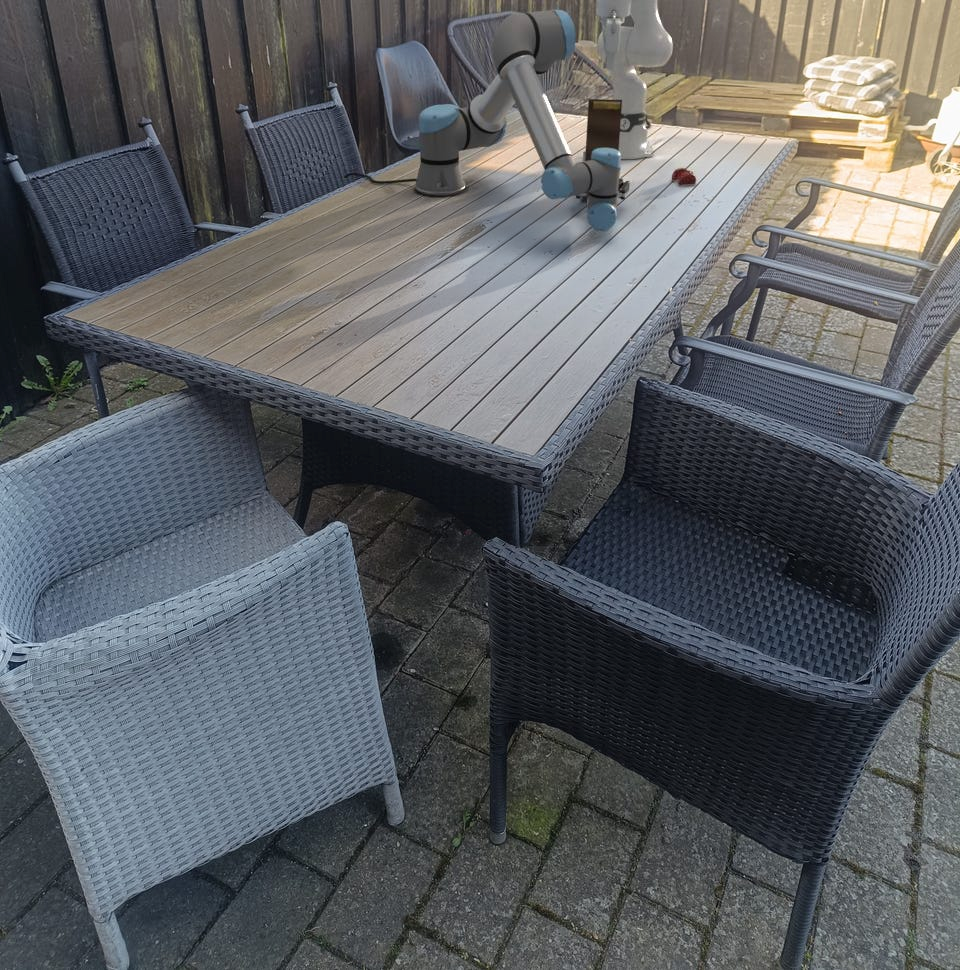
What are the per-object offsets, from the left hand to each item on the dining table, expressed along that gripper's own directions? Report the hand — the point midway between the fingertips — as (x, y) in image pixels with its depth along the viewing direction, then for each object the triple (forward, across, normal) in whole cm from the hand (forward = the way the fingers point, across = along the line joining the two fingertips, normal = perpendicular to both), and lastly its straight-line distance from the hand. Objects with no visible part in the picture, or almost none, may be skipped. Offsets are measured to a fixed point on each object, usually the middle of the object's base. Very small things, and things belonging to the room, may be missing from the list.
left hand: (599, 177), depth 247 cm
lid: (0, 0, +12) cm, 12 cm away
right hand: (-3, 0, +30) cm, 30 cm away
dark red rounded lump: (+19, +27, -6) cm, 34 cm away
